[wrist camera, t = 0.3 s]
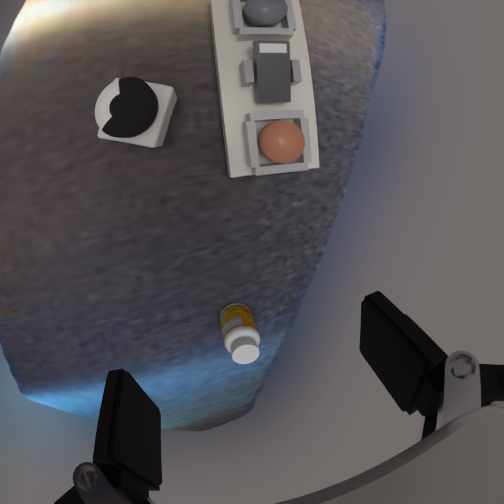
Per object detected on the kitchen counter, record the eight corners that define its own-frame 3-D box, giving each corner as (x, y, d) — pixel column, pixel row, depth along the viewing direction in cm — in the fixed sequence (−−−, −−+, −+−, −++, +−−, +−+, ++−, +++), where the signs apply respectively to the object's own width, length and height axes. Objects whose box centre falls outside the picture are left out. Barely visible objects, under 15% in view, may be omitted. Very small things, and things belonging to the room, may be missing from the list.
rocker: (252, 41, 24) (255, 40, 23) (284, 42, 25) (289, 41, 23) (255, 101, 29) (258, 103, 28) (286, 100, 30) (291, 102, 29)
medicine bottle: (178, 96, 30) (170, 76, 19) (162, 147, 32) (147, 150, 22) (128, 87, 28) (100, 66, 17) (113, 137, 30) (79, 138, 19)
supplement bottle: (255, 319, 46) (269, 358, 38) (227, 331, 46) (236, 372, 37) (244, 297, 44) (257, 335, 35) (214, 310, 44) (220, 350, 35)
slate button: (240, -1, 22) (244, -10, 20) (279, 0, 23) (284, -8, 20) (244, 28, 24) (248, 20, 22) (283, 29, 25) (290, 22, 22)
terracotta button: (255, 123, 29) (260, 122, 27) (295, 120, 30) (303, 119, 28) (259, 163, 31) (265, 165, 29) (298, 159, 32) (306, 161, 30)
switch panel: (209, 6, 25) (212, -13, 20) (291, 6, 26) (305, -9, 21) (228, 174, 36) (234, 180, 30) (310, 165, 37) (328, 170, 32)
